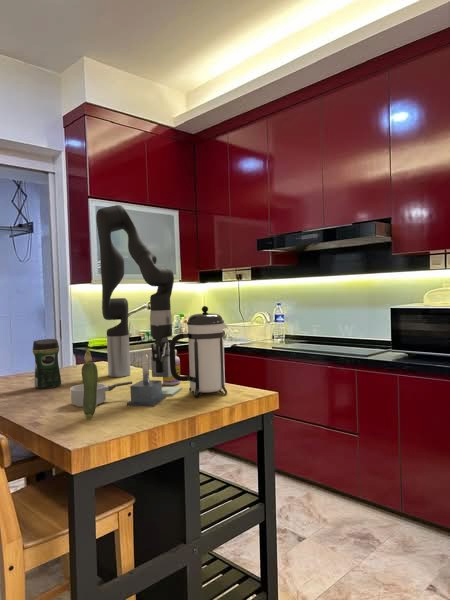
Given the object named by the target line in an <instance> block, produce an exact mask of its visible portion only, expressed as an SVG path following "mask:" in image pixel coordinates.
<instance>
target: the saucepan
mask: <svg viewBox="0 0 450 600" xmlns="http://www.w3.org/2000/svg"><path fill="white" fill-rule="evenodd" d="M127 385H128V386H129V385H133V381H131V380H130V381H125V382H120V383H114V384H111V385H107V384H106V383H101V382H98V383H97V395H96V397H97V399H96V406H99V405H101V404H102V403H103V402H105V401H106V400H107V399H106V398H107V397H106V392H111V391H113V390H114V389H116V388H117V387H122V386H127ZM69 390H70V403H71V405H73V406H75V405H76V406H75V407H77V406H79V407H78V408H83V398H84V384H83V383H82V384H76V385H73V386H71V387H69ZM98 404H99V405H98Z"/></svg>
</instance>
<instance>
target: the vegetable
mask: <svg viewBox="0 0 450 600" xmlns="http://www.w3.org/2000/svg"><path fill="white" fill-rule="evenodd" d="M83 359H84V362H85V363H83V365H82V367H81V378H82V384H84V398H83V407H82V408H83V413H84V416H85V417H84V418H85V419H86V420H88V419H89V420H92V419H93V417H94V415H95V413H96V407H97V405H96V399H97V397H96V395H97V383H99V381H98V379H99V377H98V376H99V374H98V372H99V371H98V367H97V364H96V363H95V362H94V361H93V358H92V354H91V352H90V348H88V349H86V351H85V354H84V358H83Z"/></svg>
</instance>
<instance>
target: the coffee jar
mask: <svg viewBox="0 0 450 600" xmlns="http://www.w3.org/2000/svg"><path fill="white" fill-rule="evenodd" d="M59 352H60V345H59V342H58V340H57V339H56V338H46V339H45V338H43V339H38V340H34V341H33V344H32V353H33V355H34V388H35V389H51V388H55V387H59V386H61V385H62V376H61V371H60V365H59V357H58V356H59Z"/></svg>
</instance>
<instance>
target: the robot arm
mask: <svg viewBox="0 0 450 600" xmlns="http://www.w3.org/2000/svg"><path fill="white" fill-rule="evenodd" d="M95 215H96V216H95V218H96V219H95V221H96V228H97V233H98V234H97V235H98V241H99V255H100V258H99V259H100V260H99V261H100V262H99V263H100V276H101V287H102V289H101V291H102V293H101V297H102V298H101V310H102V311H101V313H102V317H103V319H105V320H106V321H112V320H113V321H115V320H116V321H117V320H118V321H119V320H120V322H119V323H118V324H116V325H115V326H112V327H110V328H108V329H106V347H107V349H106V350H107V352H106V353H107V369H108V370H107V371H108V372H107V374H108V377H110V378H121V377H127V376H130V375H131V354H130V352H131V351H130V339H129V338H130V335H129V334H130V332H129V331H130V330H129V303H128V299H126V298H125V297H121V298H120V297H117V298H116V297H115V298H114V297H113V298H111V297H112V295H113V292H114V290H115V289H116V288H117V287H118V286H119V284H120V283H121V282H122V280H123V279H124V276H125V260H124V257H123V255H122V254H121V253H120V251H119V250H118V249H117V247H115V246H114V244H113V241H112V236H111V235H112V233H113V232H118V231H121V230H123V231H124V232H125V233H126V234H127V250H128V253H129V255H130V257H131V258H132V259H133V260H134V262H135V263H136V265H137V266H138V268H139V270H140V273H141V275H142V278H143V280H144V282H145V283H146V284H147V285H148V286H150V287H157V289H156V292H155V293H153V294H152V293H151V295H150V297H149V298H150V299H149V302H150V303H149V305H150V307H149V308H150V311H149V313H150V314H149V323H150V324H149V326H150V338H154V339H155V341H154V343H151V357H152V359H153V361H155V362H156V372H157V373H162V372H163V363H162V361H163V356H164V355H165V354H170V343H171V340H172V338H171V339H170V337H172V336H173V318H172V311H171V307H172V306H171V296H172V292H173V288H174V281H175V277H174V276H175V275H174V272H173V270H172V269H171V268H170V267H168V266H165V265H164V266H163V265H161V266H159V265H156V263H157V262H158V261H157V260H158V259H157V256H156V255H155V253H154V252H153V251H152V250H151V248H150V247H149V246H148V244H147V243H146V241H144V239H143V237H142V236H141V233H140V232H139V229H138V228H137V226H136V225H135V223H134V221H133V219H132V218H131V216H130V214H129V212H128V211H127V209H126V208H125V207H124V206H122V205H120V204H116V205H110V206H106V207H105V206H104V207H101V208H98V210H97V211H96V214H95Z"/></svg>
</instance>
